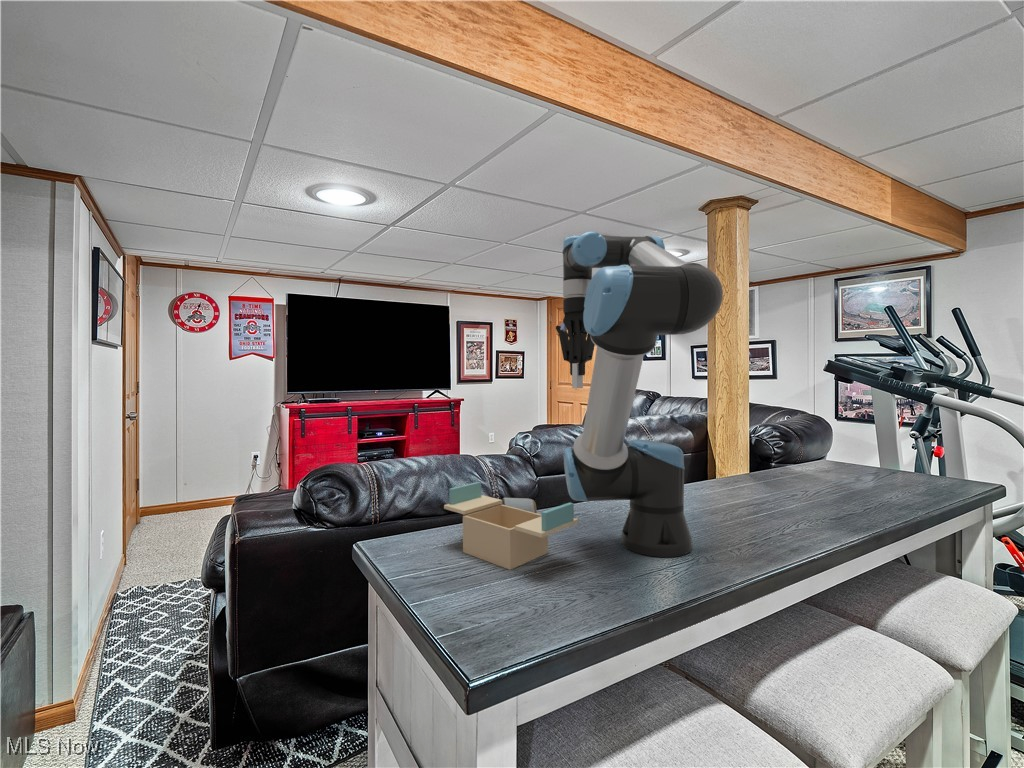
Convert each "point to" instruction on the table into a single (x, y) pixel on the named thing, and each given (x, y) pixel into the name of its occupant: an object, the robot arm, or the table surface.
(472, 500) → the lid
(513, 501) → the ceramic mug
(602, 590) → the table surface
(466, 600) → the table surface
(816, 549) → the table surface
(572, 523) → the lid near
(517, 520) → the carton
